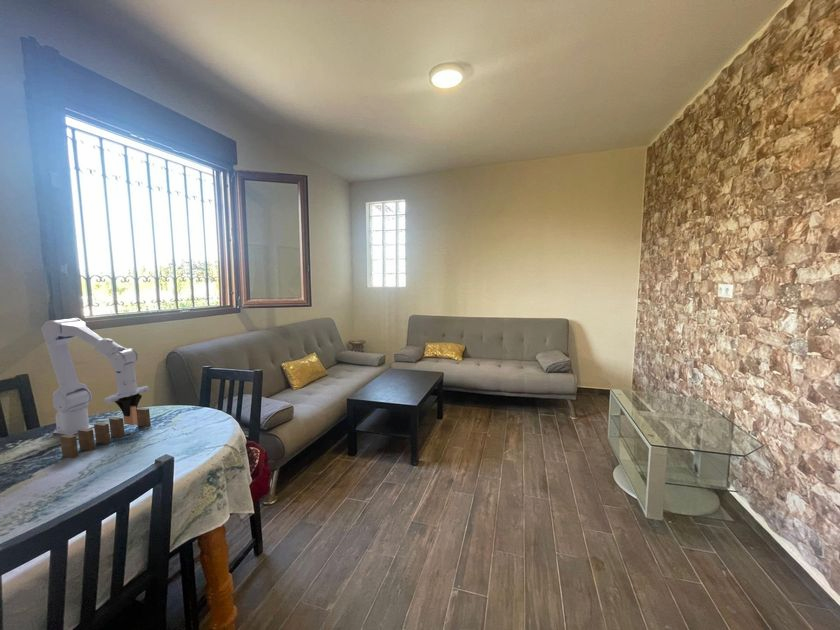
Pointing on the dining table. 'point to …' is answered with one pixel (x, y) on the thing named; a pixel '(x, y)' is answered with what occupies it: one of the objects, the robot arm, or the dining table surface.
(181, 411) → the dining table surface
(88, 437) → the domino
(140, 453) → the dining table surface
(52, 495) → the dining table surface
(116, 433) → the domino
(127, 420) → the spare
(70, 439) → the domino
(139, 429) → the dining table surface
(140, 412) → the domino
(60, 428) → the robot arm
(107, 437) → the domino
